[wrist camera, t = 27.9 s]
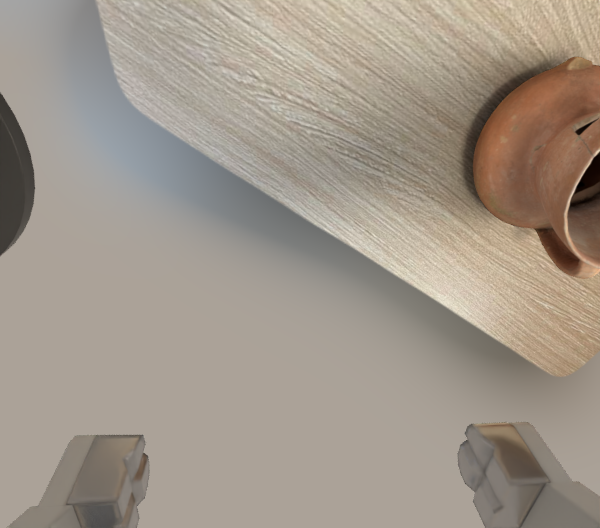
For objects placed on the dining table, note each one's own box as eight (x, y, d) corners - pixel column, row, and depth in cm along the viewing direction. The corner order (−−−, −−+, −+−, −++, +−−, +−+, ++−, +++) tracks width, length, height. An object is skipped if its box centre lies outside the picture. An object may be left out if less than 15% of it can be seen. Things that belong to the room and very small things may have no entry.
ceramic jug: (475, 51, 34) (594, 56, 22) (636, 41, 35) (841, 40, 23) (448, 239, 43) (522, 318, 31) (577, 228, 44) (701, 302, 31)
